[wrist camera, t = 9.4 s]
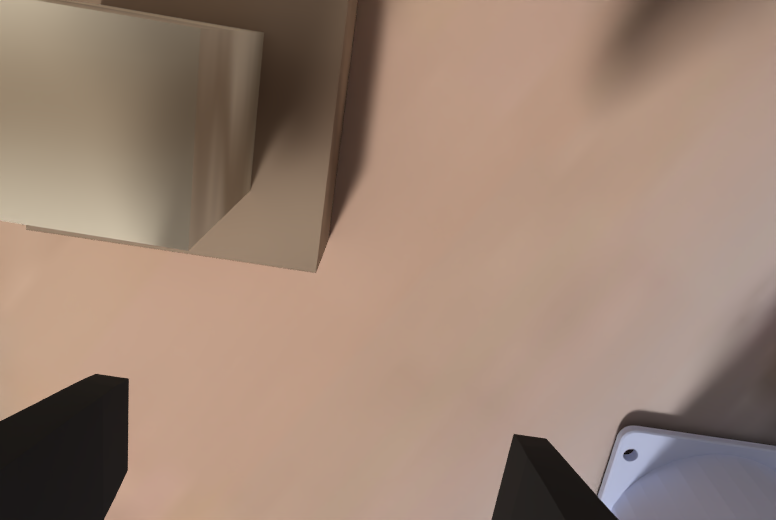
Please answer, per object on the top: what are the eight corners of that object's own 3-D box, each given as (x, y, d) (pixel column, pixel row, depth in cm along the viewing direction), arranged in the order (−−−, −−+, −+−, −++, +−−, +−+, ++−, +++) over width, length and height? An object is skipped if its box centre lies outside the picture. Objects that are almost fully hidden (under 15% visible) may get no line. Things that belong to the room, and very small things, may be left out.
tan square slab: (328, 240, 20) (315, 272, 17) (80, 202, 20) (26, 229, 17) (361, -29, 17) (353, -43, 15) (75, -75, 17) (10, -99, 14)
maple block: (249, 190, 16) (188, 251, 12) (99, 166, 16) (-25, 216, 12) (264, 32, 15) (201, 28, 10) (100, 4, 15) (-40, -13, 10)
